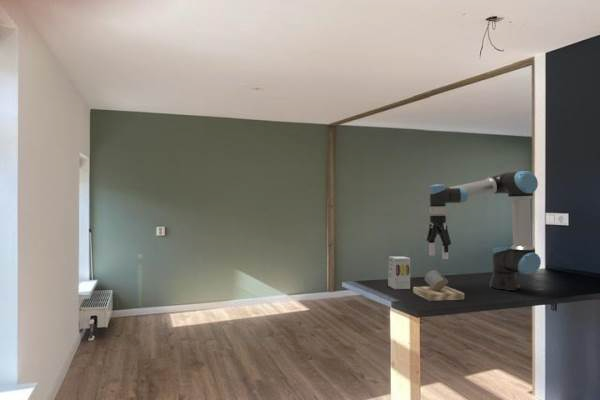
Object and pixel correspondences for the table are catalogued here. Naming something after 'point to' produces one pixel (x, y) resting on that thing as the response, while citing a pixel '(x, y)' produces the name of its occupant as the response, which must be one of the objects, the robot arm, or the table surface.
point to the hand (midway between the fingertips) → (438, 257)
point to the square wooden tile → (438, 293)
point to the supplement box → (399, 272)
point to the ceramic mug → (435, 280)
